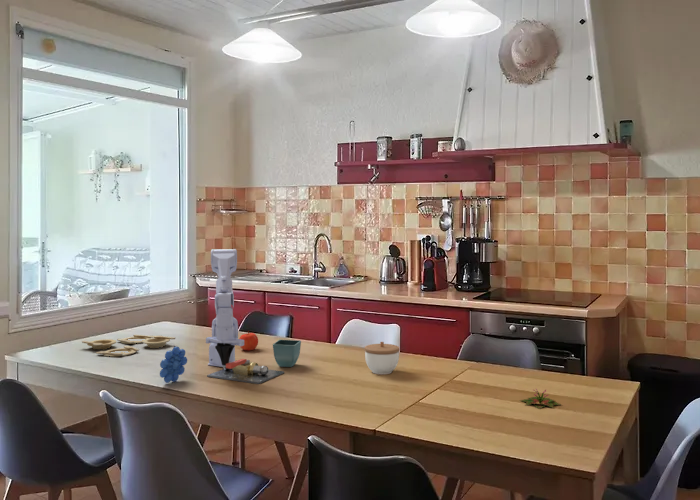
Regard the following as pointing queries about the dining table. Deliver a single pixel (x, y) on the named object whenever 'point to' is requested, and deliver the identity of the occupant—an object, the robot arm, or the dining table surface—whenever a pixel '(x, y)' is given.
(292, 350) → the flower pot
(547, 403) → the lily flower
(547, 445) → the dining table surface
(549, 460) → the dining table surface
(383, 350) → the lidded bowl
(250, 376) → the valve body
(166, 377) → the grapes
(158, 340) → the tableware set
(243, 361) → the lever
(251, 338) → the apple
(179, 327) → the dining table surface
